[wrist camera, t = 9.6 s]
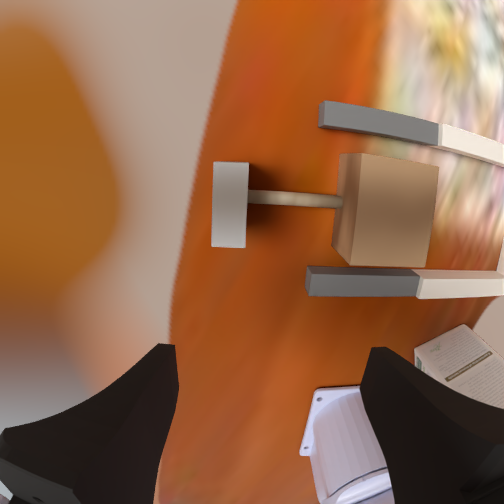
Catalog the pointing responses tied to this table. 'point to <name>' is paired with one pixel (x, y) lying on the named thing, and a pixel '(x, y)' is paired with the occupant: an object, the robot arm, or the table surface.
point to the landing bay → (369, 279)
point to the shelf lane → (500, 280)
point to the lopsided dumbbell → (345, 208)
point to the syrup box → (464, 365)
